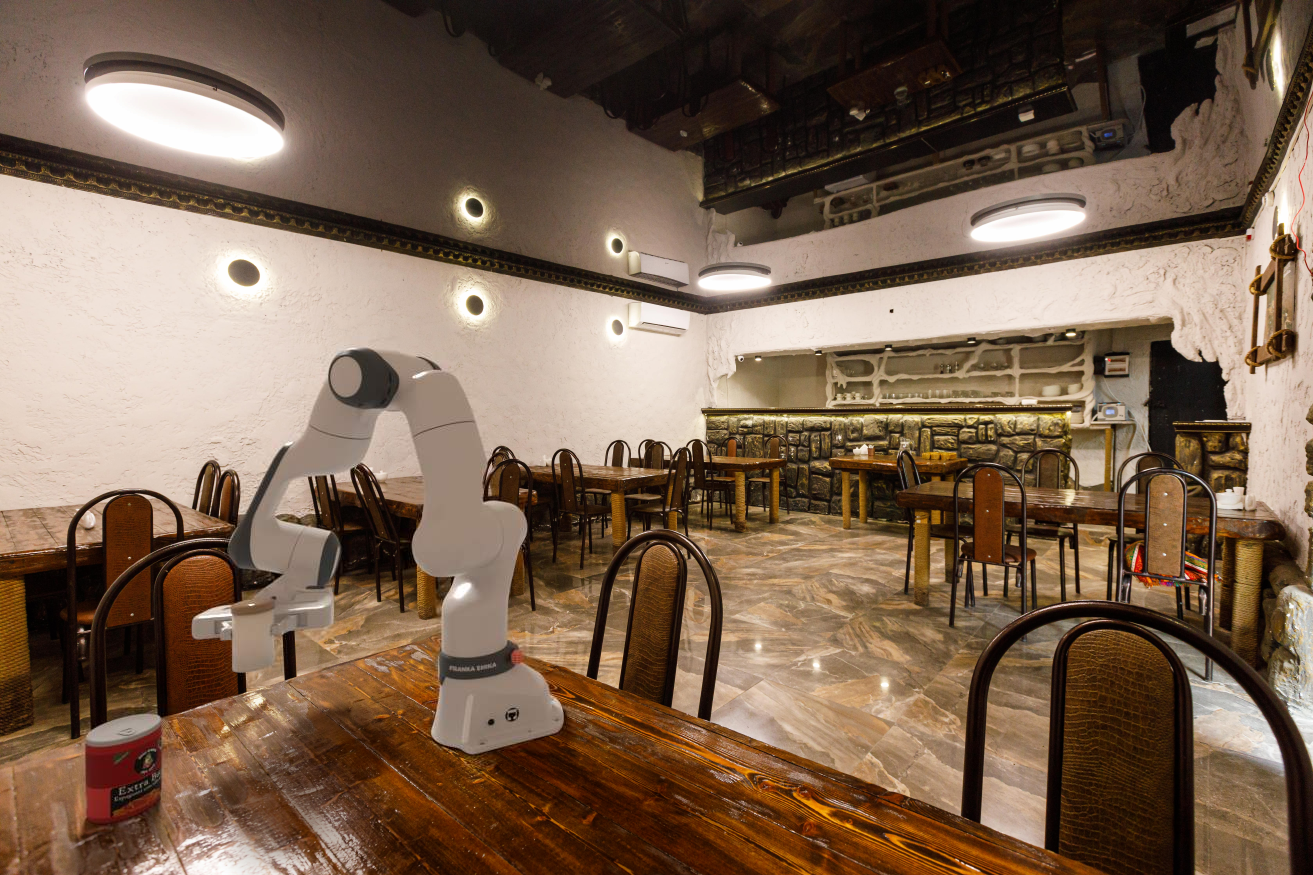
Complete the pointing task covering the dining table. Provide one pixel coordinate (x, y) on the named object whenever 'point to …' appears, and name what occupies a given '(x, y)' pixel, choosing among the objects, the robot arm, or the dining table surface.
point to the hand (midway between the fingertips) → (251, 632)
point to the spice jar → (252, 634)
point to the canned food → (123, 767)
